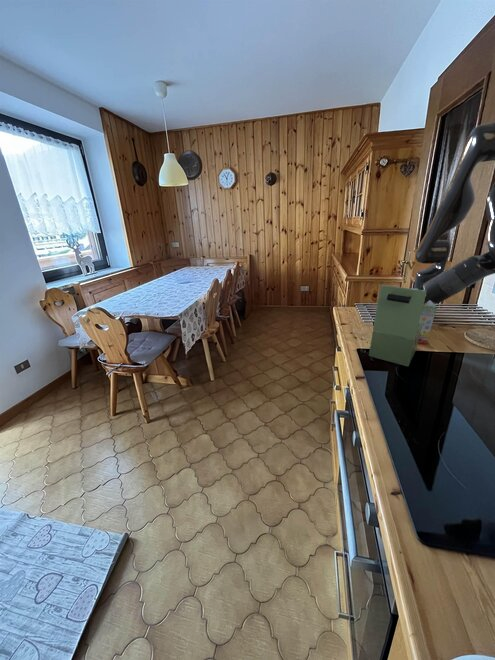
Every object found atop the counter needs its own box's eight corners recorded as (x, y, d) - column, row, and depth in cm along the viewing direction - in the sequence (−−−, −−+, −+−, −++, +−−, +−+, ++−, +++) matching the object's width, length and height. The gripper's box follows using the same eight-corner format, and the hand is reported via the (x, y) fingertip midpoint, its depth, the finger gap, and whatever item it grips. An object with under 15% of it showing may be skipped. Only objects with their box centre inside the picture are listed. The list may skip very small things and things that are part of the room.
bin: (380, 339, 110) (384, 316, 106) (416, 348, 103) (422, 323, 99) (368, 355, 100) (372, 331, 96) (408, 366, 93) (414, 340, 89)
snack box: (428, 344, 105) (438, 306, 98) (411, 343, 106) (420, 306, 100) (410, 320, 124) (418, 287, 117) (396, 320, 125) (403, 287, 118)
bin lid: (381, 284, 90) (376, 287, 86) (426, 290, 83) (424, 294, 79) (373, 329, 96) (368, 334, 92) (414, 338, 89) (411, 344, 85)
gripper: (440, 270, 90) (392, 299, 102) (433, 281, 80) (382, 312, 93) (455, 288, 90) (406, 315, 102) (451, 302, 80) (396, 330, 92)
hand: (395, 313), depth 97 cm, fingers open, 4 cm apart
